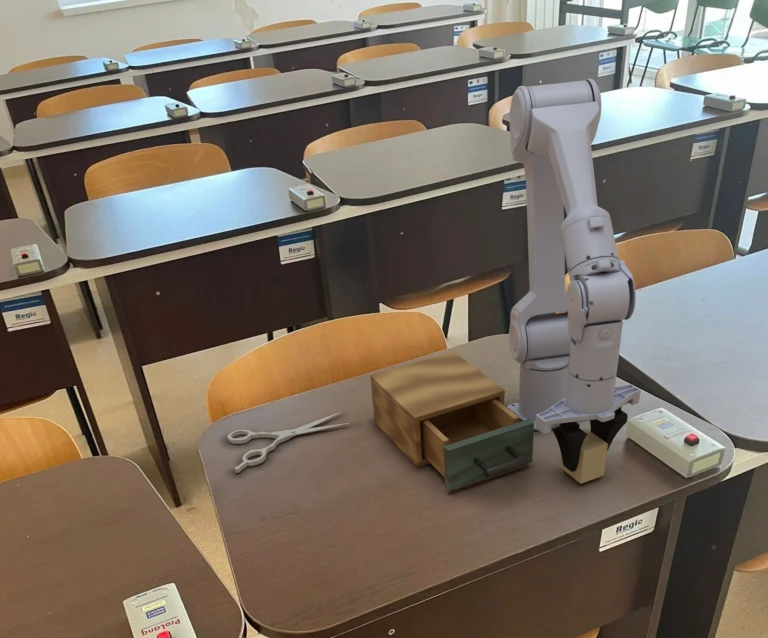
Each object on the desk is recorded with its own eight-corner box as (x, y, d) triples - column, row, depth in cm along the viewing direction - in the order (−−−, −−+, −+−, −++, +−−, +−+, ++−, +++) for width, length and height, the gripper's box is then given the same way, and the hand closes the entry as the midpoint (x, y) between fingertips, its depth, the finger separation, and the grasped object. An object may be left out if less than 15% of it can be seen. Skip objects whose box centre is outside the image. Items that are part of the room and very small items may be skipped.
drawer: (550, 477, 100) (553, 437, 96) (465, 507, 96) (464, 466, 93) (481, 419, 113) (481, 381, 109) (404, 443, 109) (401, 405, 106)
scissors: (216, 436, 115) (336, 400, 121) (217, 440, 116) (337, 404, 122) (235, 469, 107) (363, 429, 113) (236, 474, 108) (363, 433, 114)
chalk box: (583, 459, 103) (587, 428, 100) (604, 475, 100) (608, 443, 97) (560, 467, 102) (563, 436, 99) (580, 484, 99) (583, 452, 96)
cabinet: (503, 439, 110) (504, 390, 105) (417, 467, 106) (414, 417, 101) (454, 398, 121) (453, 351, 116) (374, 422, 117) (370, 375, 112)
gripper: (562, 399, 87) (554, 494, 95) (662, 367, 91) (647, 461, 99) (527, 375, 92) (523, 467, 100) (624, 346, 96) (612, 437, 105)
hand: (582, 463), depth 100 cm, fingers closed on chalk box, 4 cm apart
